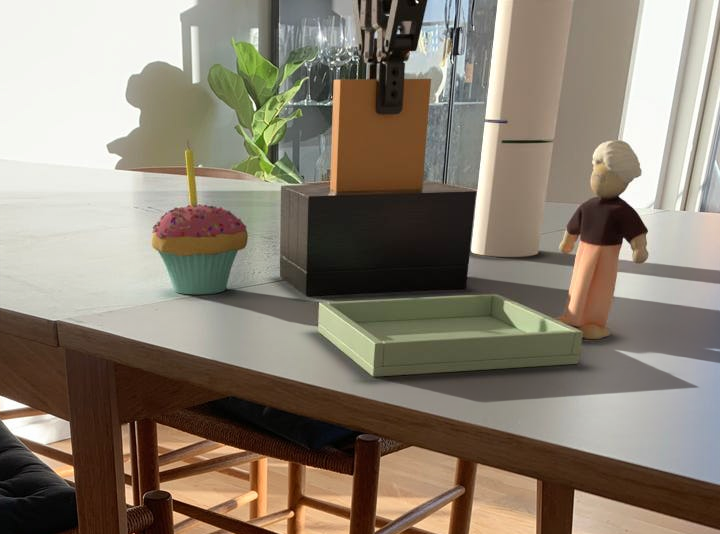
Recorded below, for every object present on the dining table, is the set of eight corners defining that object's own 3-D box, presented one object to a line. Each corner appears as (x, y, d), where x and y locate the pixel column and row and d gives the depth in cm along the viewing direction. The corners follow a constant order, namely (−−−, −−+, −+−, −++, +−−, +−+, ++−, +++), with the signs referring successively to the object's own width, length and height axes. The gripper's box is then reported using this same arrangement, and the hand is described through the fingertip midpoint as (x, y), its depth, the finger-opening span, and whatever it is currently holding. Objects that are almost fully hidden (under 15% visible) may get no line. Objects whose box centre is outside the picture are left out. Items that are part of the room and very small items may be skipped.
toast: (412, 217, 87) (422, 78, 81) (420, 220, 85) (431, 78, 80) (328, 220, 86) (333, 79, 80) (334, 223, 84) (340, 79, 78)
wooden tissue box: (437, 269, 94) (445, 180, 90) (478, 287, 86) (489, 190, 82) (279, 276, 91) (280, 185, 87) (305, 296, 83) (308, 196, 79)
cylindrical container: (497, 245, 108) (529, -21, 95) (551, 251, 103) (592, -27, 91) (457, 251, 104) (485, -25, 91) (511, 259, 99) (549, -32, 87)
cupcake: (140, 286, 87) (131, 140, 81) (222, 278, 91) (219, 137, 85) (178, 302, 81) (171, 145, 75) (265, 293, 84) (265, 141, 78)
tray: (493, 321, 74) (497, 293, 73) (578, 364, 62) (583, 331, 61) (317, 331, 71) (318, 302, 70) (373, 377, 60) (375, 343, 59)
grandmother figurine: (525, 328, 71) (553, 139, 65) (555, 321, 74) (584, 137, 67) (618, 347, 66) (657, 143, 60) (646, 338, 68) (687, 141, 62)
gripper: (477, -164, 67) (455, 113, 76) (410, -126, 79) (398, 111, 88) (376, -166, 66) (366, 117, 75) (323, -127, 78) (320, 113, 87)
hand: (383, 112), depth 81 cm, fingers closed on toast, 2 cm apart
